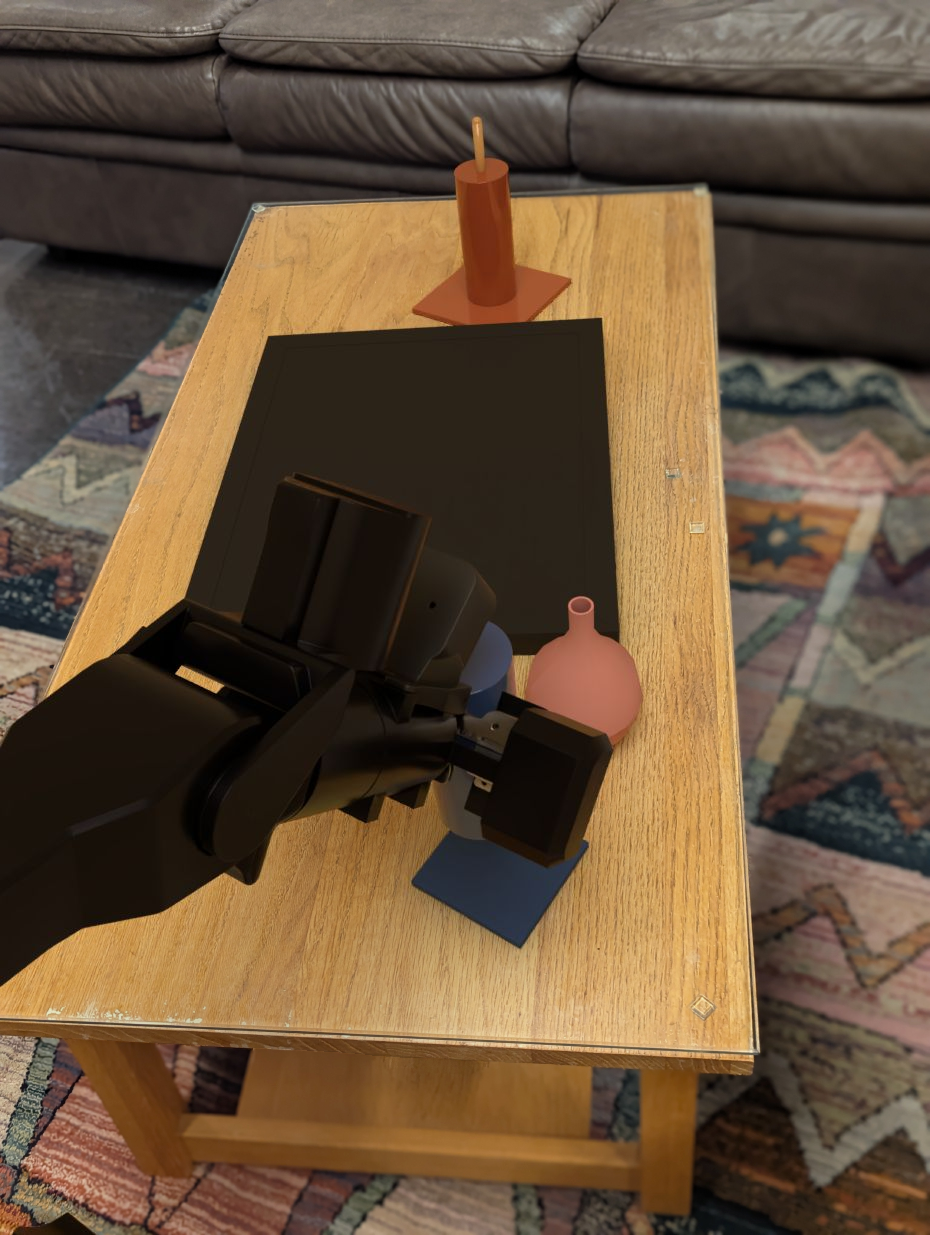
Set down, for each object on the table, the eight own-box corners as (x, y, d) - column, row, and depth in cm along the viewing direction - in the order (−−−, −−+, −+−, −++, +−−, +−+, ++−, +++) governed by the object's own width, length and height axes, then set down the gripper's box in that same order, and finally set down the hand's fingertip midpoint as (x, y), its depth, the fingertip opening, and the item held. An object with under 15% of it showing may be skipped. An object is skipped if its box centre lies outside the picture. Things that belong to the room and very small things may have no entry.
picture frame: (179, 662, 81) (619, 653, 78) (170, 641, 80) (619, 631, 76) (273, 356, 109) (602, 338, 105) (268, 335, 107) (602, 317, 103)
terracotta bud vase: (662, 744, 72) (669, 624, 63) (560, 789, 70) (553, 672, 62) (605, 667, 77) (605, 545, 68) (509, 707, 75) (496, 587, 67)
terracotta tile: (509, 341, 106) (509, 336, 106) (412, 313, 112) (411, 308, 111) (571, 283, 113) (571, 278, 112) (476, 258, 118) (476, 253, 117)
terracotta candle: (499, 311, 109) (484, 133, 96) (457, 299, 111) (437, 124, 98) (526, 286, 112) (515, 110, 99) (484, 275, 114) (469, 101, 101)
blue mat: (520, 949, 63) (520, 945, 63) (411, 885, 67) (410, 880, 66) (589, 847, 67) (589, 841, 67) (483, 791, 71) (482, 786, 70)
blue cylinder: (460, 855, 60) (433, 711, 51) (422, 787, 63) (390, 640, 54) (542, 816, 61) (531, 669, 52) (501, 751, 65) (483, 601, 55)
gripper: (592, 630, 39) (695, 632, 53) (209, 488, 47) (387, 522, 61) (498, 908, 41) (623, 838, 55) (141, 725, 49) (331, 706, 63)
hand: (484, 715), depth 58 cm, fingers closed on blue cylinder, 5 cm apart
